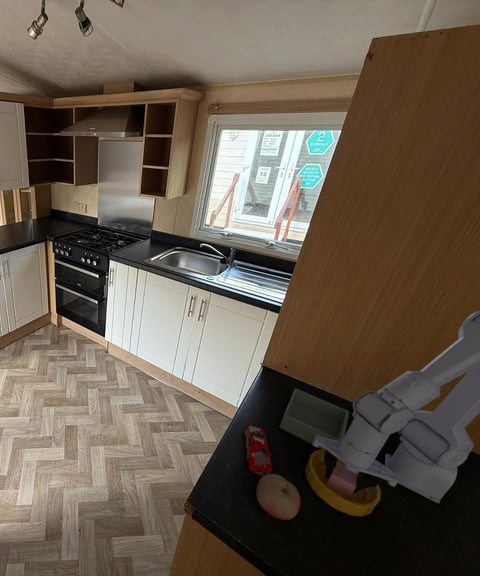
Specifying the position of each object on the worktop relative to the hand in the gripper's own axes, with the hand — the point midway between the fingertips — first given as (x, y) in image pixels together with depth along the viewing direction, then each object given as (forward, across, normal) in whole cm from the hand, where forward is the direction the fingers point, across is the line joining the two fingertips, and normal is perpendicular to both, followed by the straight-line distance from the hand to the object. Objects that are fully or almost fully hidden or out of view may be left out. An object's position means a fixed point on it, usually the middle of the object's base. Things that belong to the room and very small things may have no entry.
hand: (339, 482), depth 72 cm
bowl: (+2, 0, 0) cm, 2 cm away
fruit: (+2, -10, -15) cm, 18 cm away
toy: (+1, 0, 0) cm, 1 cm away
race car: (+2, -17, -4) cm, 18 cm away
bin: (+2, -8, +15) cm, 17 cm away
